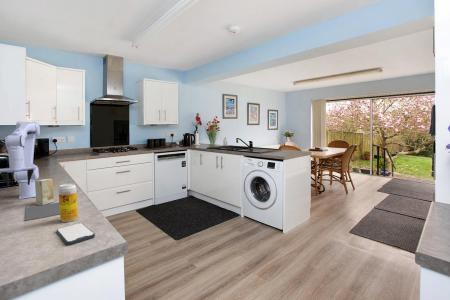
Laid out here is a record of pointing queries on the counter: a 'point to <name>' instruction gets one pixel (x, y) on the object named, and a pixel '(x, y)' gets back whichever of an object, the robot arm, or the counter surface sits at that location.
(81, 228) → the phone case
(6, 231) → the counter surface
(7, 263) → the counter surface
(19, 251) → the counter surface
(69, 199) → the beer can
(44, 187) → the skincare box
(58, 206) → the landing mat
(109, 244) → the counter surface
